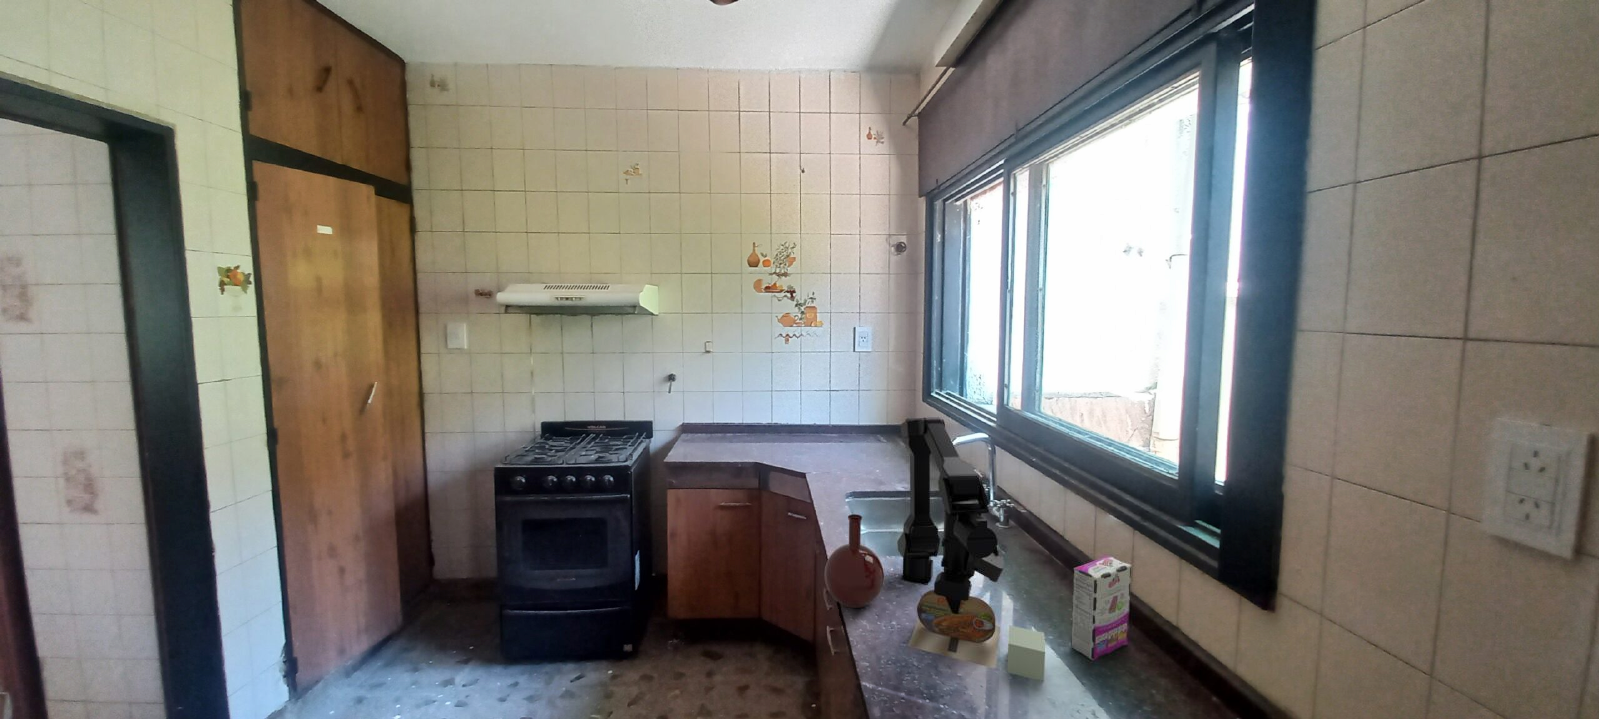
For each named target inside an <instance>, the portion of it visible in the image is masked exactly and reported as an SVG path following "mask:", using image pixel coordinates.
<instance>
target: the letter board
mask: <svg viewBox="0 0 1599 719" xmlns="http://www.w3.org/2000/svg"><path fill="white" fill-rule="evenodd" d="M1000 631H1001V626H997V625H995V632H994V634H993V636H992V637H991V638H990V639H989V640H987V641H985V642H980V643H976V642H971V641H967V640H962V639H958V638H954V637H950V636H945V635H941V634H937V633H934V632H932V631H930V630H928V629H927V628H926V627H925V626H924V625H923V624H922V623H921V622H920V620H919V618H918V619H917V621H916V623H915V627H914V630H913V632H912V635H911V638H910V640H909V643H908V647H910V648H914V649H918V650H922V651H925V652H930V653H933V654H937V655H940V656H945V657H949V658H953V659H956V660H960V661H964V662H968V663H972V664H975V665H980V666H984V667H987V668H991V669H997V661H998V650H999V641H1000V640H999V639H1000Z"/></svg>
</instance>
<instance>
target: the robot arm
mask: <svg viewBox="0 0 1599 719" xmlns="http://www.w3.org/2000/svg"><path fill="white" fill-rule="evenodd" d="M900 434H901V437H902V442H903V444H904V445H903V446H904V447H905V448H906V450H907V451H908V453H909V496H910V497H909V499H910V500H909V502H910V503H909V506H910V507H909V508H910V509H909V511H910V512H909V514H908V516H907V518H906V519H905V521H904V523H903V526H902V527H903V530H902V531H903V532H902V533H901V535H900V536H899V538H898V540H897V551H898V553H899V554H900V556H901V557H902V574H901V576H900V580H901V581H906V582H910V583H915V584H919V585H924V586H928V585H929V582H930V581H931V580H932V579H933V576H934V560H933V559H932V558H938V553H939V549H940V544H941V547H943V550H942V551H943V552H942V559H941V563H940V567H941V568H943V571H941V572H940V573H938V574H937V575H936V577H935V581H934V583H933V584H934V585H933V590H934V593H935V594H936V595H940V596H944V597H945V598H946V600H947V602H948V605H949V607H950V609H951V611H952V613H953V614H958V612H959V608H960V604H961V600H963V601H967V600H969V596H971V591H972V586H973V585H972V581H971V580H970V579H972V578H973V577H974V576H975V572H977V573H978V574H980V575H981V576H983V577H985V578H988V580H989V581H991V582H993V583H997V582H998V581H999V580H1000V576H1001V575H1002V573H1003V570H1004V568H1005V559H1004V558H1003V556H1002V555H1000V546H998V543H999V542H998V538H997V535H996V533H995V531H994V530H992V529H991V527H989V526H988V520H987V519H986V518H984V517H983V516H982V514H990V508H989V506H988V505H989V504H990V501H989V499H988V496H987V492H986V489H985V487H984V484H983V481H982V479H981V477H980V476H979V474H978V473H977V472H976V470H975V469H974V467H973V466H972V465H971V464H969V463H967V462H966V461H963V460H962V458H961V457H960V454H959V453H958V451H957V449H956V447H955V445H954V443H953V441H952V440H951V437H950V435H949V434H948V432H947V429H946V425H945V420H944V418H941V417H937V416H936V417H930V416H929V417H913V418H912V417H911V418H910V417H909V418H906V419H905V421H904V422H902V423H901V425H900ZM931 455H932V457H933V460H934V462H935V464H936V466H937V468H938V472H939V477H938V481H937V484H938V492H939V495H940V499H941V501H942V502H941V503H942V504H943V507H944V509H943V510H944V513H943V538H942V539H941V538H940V536H939V535H940V534H939V528H938V526H937V525H936V524H935V523H934V521H933V519H932V517H931ZM976 501H977V503H973V502H976ZM966 502H972V503H966Z"/></svg>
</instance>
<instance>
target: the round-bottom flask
mask: <svg viewBox="0 0 1599 719" xmlns="http://www.w3.org/2000/svg"><path fill="white" fill-rule="evenodd" d="M847 519H848V543H847V544H844V545H841V546H839V547H838V548H837V549H835V550H833V552H832V553H831V554H830V556H829V557H828V559H827V561H826V564H825V568H824V581H825V585H826V588H827V590H828V593H829V594H830V596H831V597H832V598H833V600H835V601H836V602H837V603H839V604H841V605H843V606H845V607H848V608H852V609H856V608H857V609H858V608H863V607H867V606H868V605H870V604H871V603H873V602H874V601H875V600H876V599H877V598H878V596H879V595H880V593H881V592H882V590H883V586H884V582H885V573H884V567H883V564H882V563H881V560H880V559H879V557H878V555H877V554H876V553H875V552H874V551H873V550H871V549H870V548H869V547H867V546H865V545H862V544H861V541H862V540H861V538H862V536H861V534H862V533H861V531H862V528H861V526H862V520H863V516H862V515H860V514H854V513H853V514H849V515H848V516H847Z"/></svg>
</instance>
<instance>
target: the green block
mask: <svg viewBox="0 0 1599 719" xmlns="http://www.w3.org/2000/svg"><path fill="white" fill-rule="evenodd" d="M1008 626H1009V627H1008V628H1009V629H1008V640H1007V641H1008V644H1007V645H1008V648H1007V666H1006V668H1007V671H1006V672H1007V673H1009V674H1013V675H1017V676H1020V677H1024V678H1030V679H1034V680H1037V681H1041V682H1044V681H1045V680H1044V679H1045V662H1046V658H1045V657H1046V645H1045V644H1046V643H1045V642H1046V641H1045V640H1046V639H1045V632H1042V631H1037V630H1033V629H1028V628H1023V627H1019V626H1015V625H1008Z"/></svg>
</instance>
